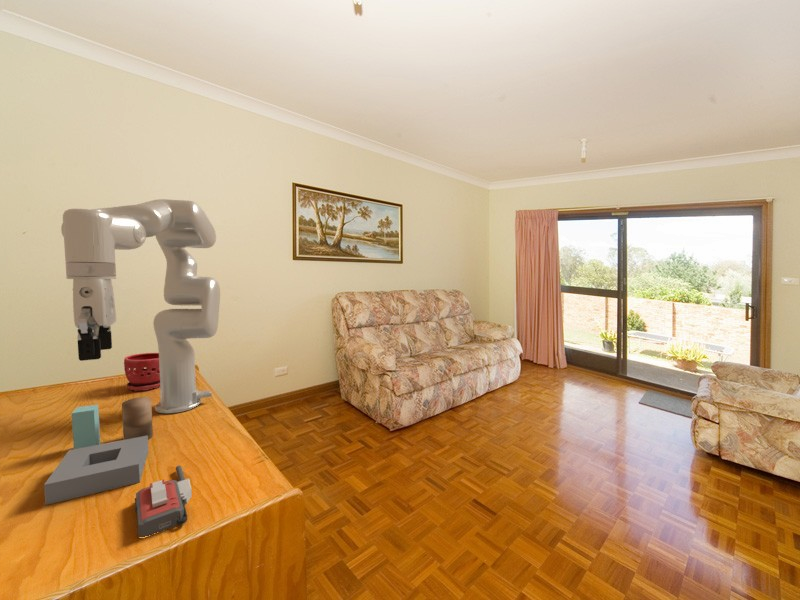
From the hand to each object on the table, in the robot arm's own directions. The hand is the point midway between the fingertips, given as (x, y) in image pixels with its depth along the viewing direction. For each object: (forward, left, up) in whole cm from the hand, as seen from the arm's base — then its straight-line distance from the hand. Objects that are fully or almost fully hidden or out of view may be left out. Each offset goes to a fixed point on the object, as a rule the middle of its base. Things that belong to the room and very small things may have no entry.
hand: (96, 354), depth 70 cm
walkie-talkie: (-12, +16, -27) cm, 34 cm away
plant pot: (-1, -63, -27) cm, 68 cm away
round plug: (-4, -16, -26) cm, 31 cm away
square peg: (+6, -16, -26) cm, 31 cm away
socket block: (0, 0, -26) cm, 26 cm away
